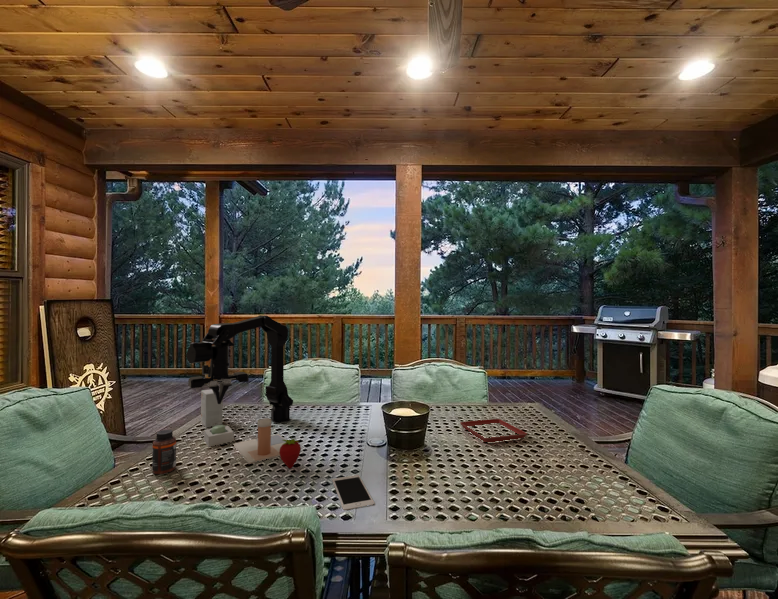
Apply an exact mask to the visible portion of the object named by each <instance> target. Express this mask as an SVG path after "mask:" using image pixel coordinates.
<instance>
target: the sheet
mask: <svg viewBox="0 0 778 599" xmlns="http://www.w3.org/2000/svg"><path fill="white" fill-rule="evenodd" d="M283 440H286V438H284V437H283V436H281V435H280V434H279V433H277V434H271V453H270V454H268V455H264V456H261V455H258V437H257V438H253V439H249V440H244V441H239V442H236V443H234V442H233V443H232V446H233V445H234V446H233V447H234V448H235V449H237V450H238V451H239V452H238V451H237V450H236V451H237V452H238V453H239V454H240V456H241V457H242V456H243V457H244V458H243V457H242V458H243V459H244V460H245V462H246V463H247V462H248V463H247V464H248V465H250V464H255V463H258V462H257V461H259V462H263V461H266V459H267V460H271V459H275V458H279V457H280V453H279V452H280V447H281V446H282V445H283V444H284V443H286V441H283ZM262 460H263V461H262Z"/></svg>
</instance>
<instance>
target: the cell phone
mask: <svg viewBox="0 0 778 599" xmlns="http://www.w3.org/2000/svg"><path fill="white" fill-rule="evenodd" d="M331 481H332V484H333V486H334V489H335V492H336V494H337V497H338V499H339V501H340V505H341V507H342V509H343V511H349V510H353V509H354V508H355V509H359V508H358V507H361V508H363V507H362V506H367V505H372V506H374V505H373V504H375V501H374V500H373V498H372V496H371V495H370V492H369V490H368V489H367V487H366V485H365V483H364V481H363V480H362V478H361V476H360V475H359V474H354V475H348V476H343V477H336V478H335V477H334V478H332V479H331ZM367 507H368V506H367ZM355 509H354V510H355Z"/></svg>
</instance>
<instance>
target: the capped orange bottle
mask: <svg viewBox="0 0 778 599" xmlns="http://www.w3.org/2000/svg"><path fill="white" fill-rule="evenodd" d="M271 435H272V420H271V418H267V417H266V418H265V417H264V418H260V419H258V420H257V438H258V455H261V456H264V455H268V454H270V453H271Z"/></svg>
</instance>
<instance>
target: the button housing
mask: <svg viewBox="0 0 778 599" xmlns="http://www.w3.org/2000/svg"><path fill="white" fill-rule="evenodd" d="M234 433H235V432H234V430H232V428H231V427H230V426H229V425H225V432H223V433H218V434H212V428H207V429H204V430H203V442H205V444H206V446H207V447H208V448H211V446H212V447H216V446H220V445H219V444H221V445H224V444H223V443H226V444H228V443H227V442H230V443H233V442H232V441H235V440H234V439H235V438H234V437H235V436H234V435H235V434H234ZM215 445H216V446H215Z"/></svg>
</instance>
